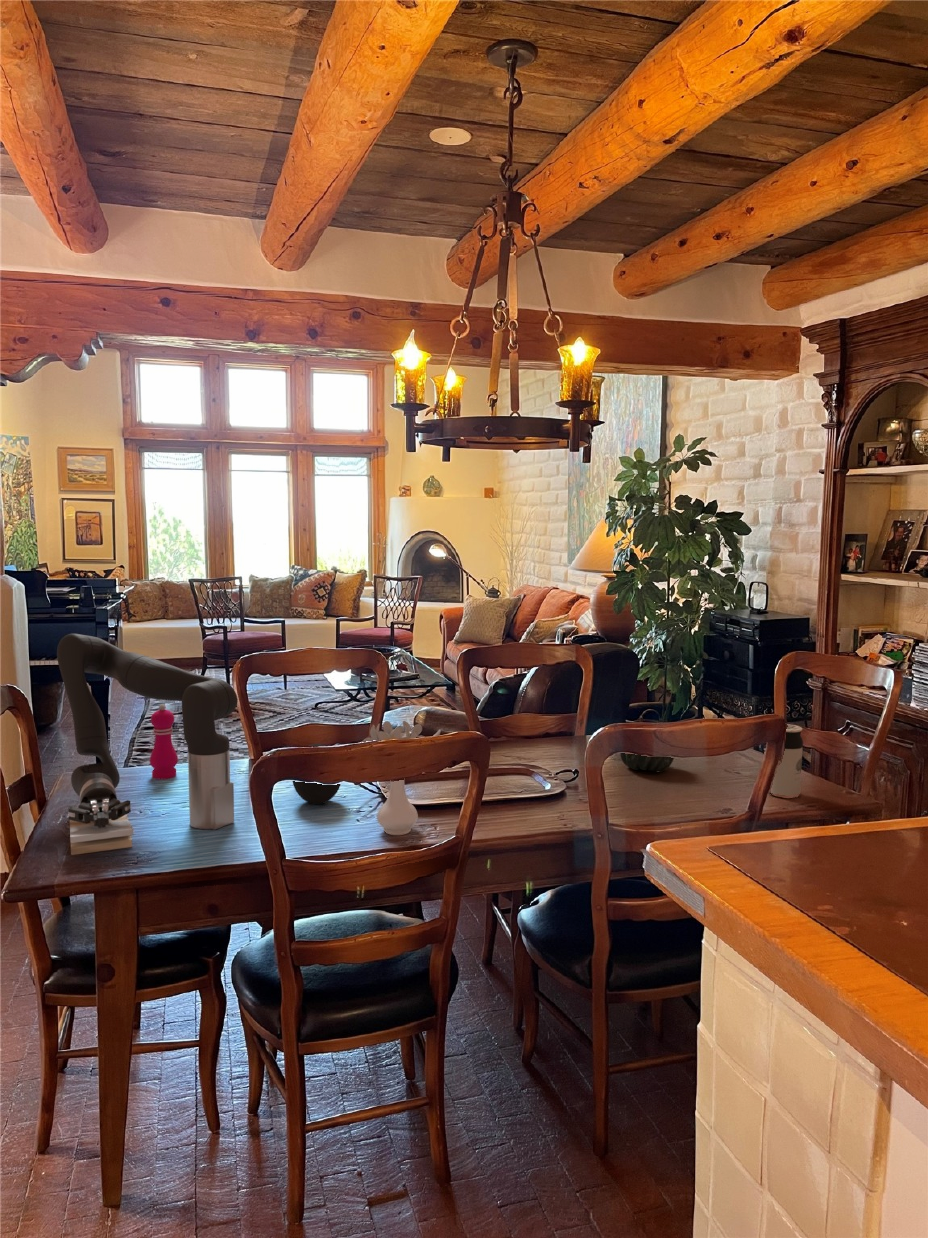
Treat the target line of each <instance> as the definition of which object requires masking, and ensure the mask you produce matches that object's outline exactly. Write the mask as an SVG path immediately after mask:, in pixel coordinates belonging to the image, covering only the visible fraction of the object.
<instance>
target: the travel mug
mask: <svg viewBox="0 0 928 1238" xmlns="http://www.w3.org/2000/svg"><path fill="white" fill-rule="evenodd" d="M786 724H787V725H788V727H787V729H786V744H785V751H784V755H783V759H782V763H781V764H780V765H779V766H778V768H777V773H776V774H775V777H774V780H773V785H772V788H771V793H773V794H779V795H786V796H790V795H797V794H800V795H801V782H802V781H801V779H802V765H803V764H802V763H803V746H804V745H803V744H804V740H803V738H802V736H801V734H802V731H803V727H802V726H799V725H795V724H789V723H786Z"/></svg>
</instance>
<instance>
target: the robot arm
mask: <svg viewBox="0 0 928 1238" xmlns="http://www.w3.org/2000/svg"><path fill="white" fill-rule="evenodd" d="M58 642H59V643H58V645H57V649H56V659H57V662H58V663H57V664H58V667H59V668H58V669H59V672H60V676H61V678H62V681H63V686H64V689H65V692H66V697H67V698H68V701H69V702H68V703H69V706H70V711H71V716H72V720H73V730H74V740H75V748H76V752H77V754H79V755H80V756H85V757H86V756H89V757H91V756H92V757H97V758H98V759H99V760H100V761H101V762H96V763H89V764H84V765H79V766H77V767H76V768H75V769H73V771H72V773H71V777H70V779H71V780H70V781H71V786H72V788H73V791H74V792H75V794H76V795H77V796H78V797H79V805H78V806H77V807H75V806H69V807H67V809H68V811H67V813H68V820H69V821H70V820H73V821H77V822H81V823H85V824H88V823H90V821H92V822H94V826H98V828H102V827H106V825H108V824H109V819H111V820H117V819H119V818H121V817H122V816H124V815H126V814H130V813H131V808H132V807H131V800H129V799H127V800H125V801H120V799H118V797H117V791H116V789H117V787H118V785H119V783H120V779H121V777H120V772H119V769H118V768H117V765H116V763H115V762H114V759H113V757H112V754H111V751H110V748H109V744H108V737H107V728H106V722H105V717H104V714H103V712H102V710H101V707H100V706H99V704H98V702H97V701H96V699H95V697H94V696H93V693H92V692H91V690H90V688H89V686H88V685H89V684H88V683H87V678H86V674H97V675H103V676H106V677H109V678H111V679H112V678H113V679H115V680H116V681H117V682H118V683H119V685H121V686H122V688H124V689H126V690H128V691H129V692H131V693H133V694H137V695H138V696H141V697H144V698H147V699H153V700H161V701H171V702H173V701H175V702H181V713H182V714H181V715H182V725H183V737H184V740H185V743H186V744H187V759H188V760H187V761H188V762H187V763H188V764H187V766H188V767H187V769H188V771H187V773H188V807H189V810H188V811H189V825H190V826H191V827H192V828H195V829H201V830H218V829H220V828H223V827H225V826H227V825H230V824H233V823H235V797H234V796H235V795H234V794H235V793H234V790H235V787H234V785H235V784H234V783H233V782H232V781H231V762H230V761H231V759H230V757H231V756H230V755H231V754H230V753H231V752H230V749H231V748H230V739H229V737H228V736H227V735H225V734H222V733H217V731H216V724H215V721H218V720H221V719H224V718H226V717H228V716H230V715H231V714H233V712H234V711H235V710H236V708H237V706H238V701H239V700H238V696H237V692H236V690H235V689H234V688H233V687H232V685H230V683H229V682H226V680H223V679H220V678H216V677H215V678H214V677H210V676H205V675H201V674H197V673H193V672H190V671H187V670H186V669H182V668H179V667H177V666H174V665H172V664H169V663H166V662H164V661H162V660H159V659H156V658H153V657H150V656H148V655H144V654H140V653H137V652H131V651H128V650H123V649H121V648H119V647H117V646H116V645H114V644H111V643H110V642H108V641H106V640H104V639H102V638H100V637H97V636H92V635H85V634H79V633H69V634H67V635H64V636H63V637H62V638H61V640H60V641H58ZM85 673H86V674H85ZM83 816H84V817H83Z"/></svg>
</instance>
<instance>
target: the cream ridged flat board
mask: <svg viewBox="0 0 928 1238" xmlns="http://www.w3.org/2000/svg"><path fill="white" fill-rule="evenodd" d="M83 817H84V816H83ZM126 820H129V819H128V815H127V814H126V815H124V816H122V817H121V818H119V819H117V820H111V819H109V823H110V822H118V821H126ZM86 825H94V822H92V821H90V823H88V824H85V823H81V822H77V821H73V820H69V828H70V827H78V826H86ZM132 847H133V839H132V835H128V836H121V837H113V838H106V839H98V840H91V841H83V842H76V843H71V842H70V855H71V856H74V855H82V854H83V855H84V854H89V853H96V852H104V851H111V850H117V849H119V850H120V849H125V848H132Z"/></svg>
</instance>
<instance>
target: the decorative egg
mask: <svg viewBox="0 0 928 1238" xmlns="http://www.w3.org/2000/svg"><path fill="white" fill-rule="evenodd" d="M308 746H326V745H325V744H321V743H313V744H309V745H308ZM292 785H293V787H294V791H295V792H296V793H297V795H298V796H299V797H300V798H301V799H302V800H304V801H305V802H306V803H309V804H311V805H312V804H313V805H321V804H324V803H327V802H329V801H331V800H332V799H333V798H334V797H335V796H336V794H338V791H339V789H340V788H341V785H342V783H341V784H337V785H322V784H317V783H305V782H295V781H292Z"/></svg>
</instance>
